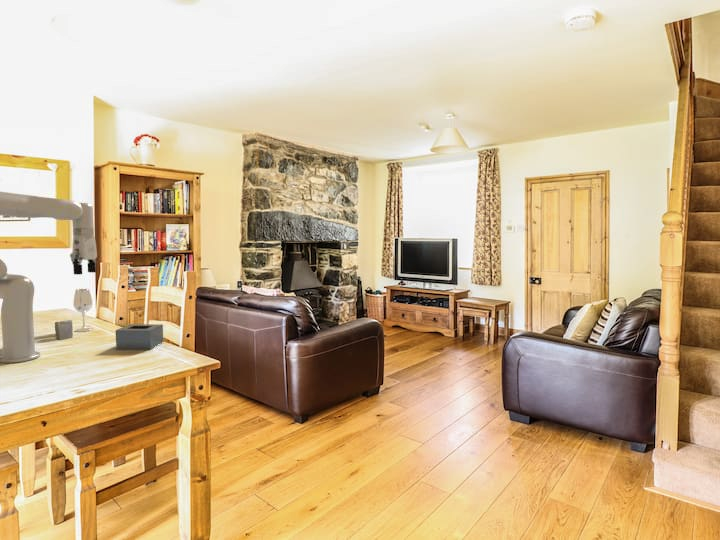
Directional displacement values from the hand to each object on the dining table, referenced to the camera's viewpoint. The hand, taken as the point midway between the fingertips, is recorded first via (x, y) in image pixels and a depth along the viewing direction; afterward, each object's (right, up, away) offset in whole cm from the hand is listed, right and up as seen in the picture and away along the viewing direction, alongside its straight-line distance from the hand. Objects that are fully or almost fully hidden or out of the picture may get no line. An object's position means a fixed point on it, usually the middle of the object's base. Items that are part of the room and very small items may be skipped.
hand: (85, 273), depth 191 cm
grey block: (-18, -30, +13) cm, 37 cm away
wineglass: (-18, -28, +29) cm, 44 cm away
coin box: (+24, -31, -1) cm, 39 cm away
